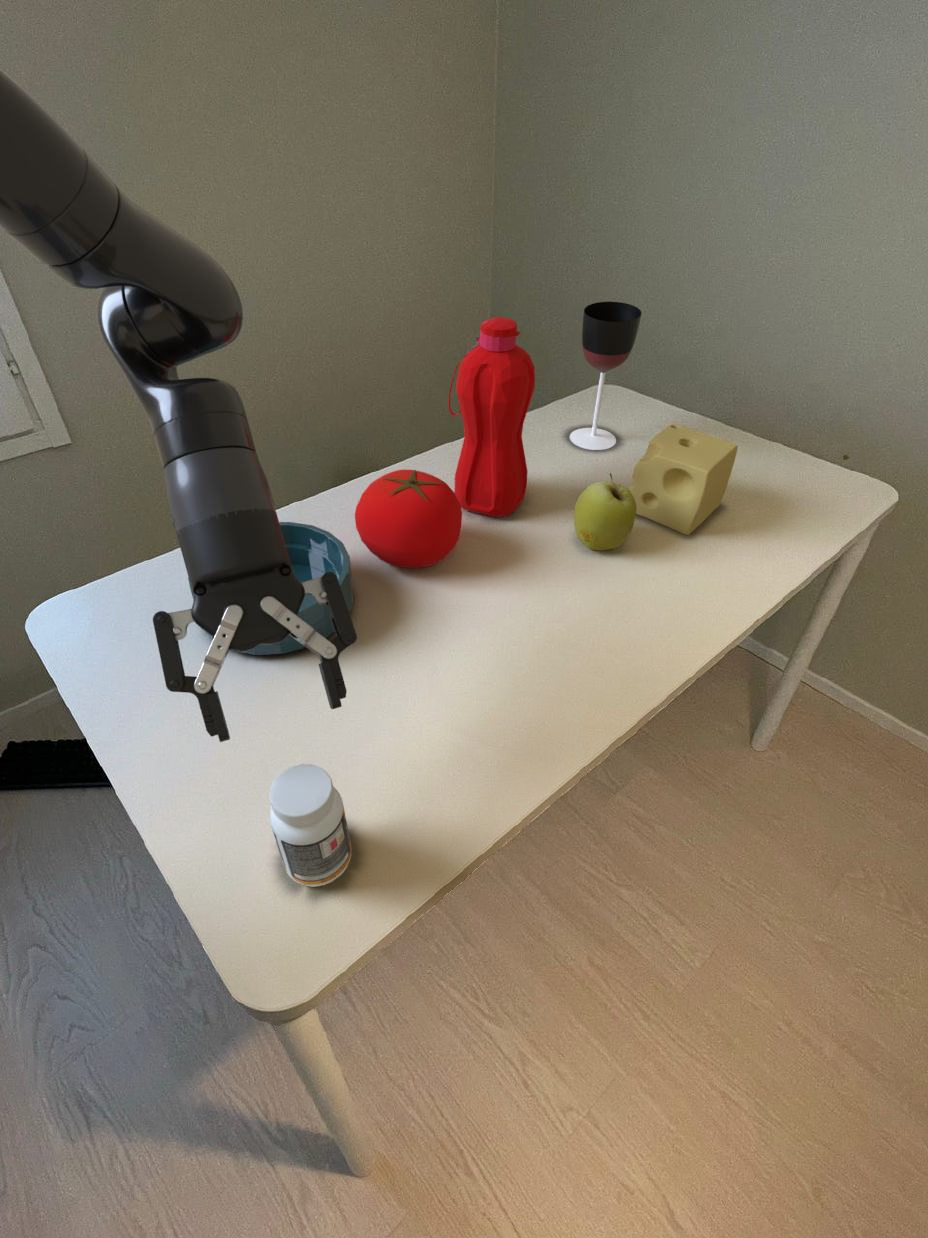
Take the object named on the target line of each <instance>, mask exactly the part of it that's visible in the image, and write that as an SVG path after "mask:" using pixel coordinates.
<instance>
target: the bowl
mask: <svg viewBox="0 0 928 1238" xmlns="http://www.w3.org/2000/svg"><path fill="white" fill-rule="evenodd" d="M279 524H280V528H281V531H282V535H283V539H284V542H285V546H286V549H287V553H288V557H289V560H290V564H291V568H292V571H293V573H294V575H295V577H296V578H297V579H298V580H299V581H300V582H301V583H302V582H305V581H309V580H312V579H315V578H319V577H321V576H323V575H324V574H325V573H326V572H333V573H334V574H335V575H336V576H337V578H338V581H339V584H340V587H341V590H342V593H343V596H344V599H345V602H346V605H347V608H348V611H349V613H351V610H352V609H353V606H354V583H353V576H352V566H351V558H350V557H351V556H350V553H349V552H348V550H347V548H346V547H345V544H344V543H343V542H342V541H341V540H340V539H338V538H337V537H336V536H335V535H334V534H333V533H331V532H330V531H328V530H325V529H323V528H320V527H318V526H314V525H312V524H307V523H299V522H294V521H293V522H292V521H281V522H280V521H279ZM187 580H188V585H189V589H190V593H191V597H192V599H193V600H194V596H193V592H192V588H191V584H190V581H189V577H187ZM297 616H298V617H299V618H300V619H302V620H303V621H304V622H306V623H307V624H308V625H310V626H311V627H312V628H313V629H315V630H316V632H318V633H319V634H320V635H322V636H323V637H324V638H325V639H327V638H328V637H329V636H330V635H332V634H333V633H335V630H334V627H333V624H332V621H331V618H330V616H329V613H328V610H327V607H326V604H319V603H317V602H316V601H315V599H314V598H313V597H312V596H311V595H305V597H304V600H303V602H302V605H301V607H300V610H299V612H298V615H297ZM204 632H205V633H206V634H207V635H208V637H210V638H211V640H213V639H214V637H212V636H211V635H210V634H208V633H207V632H206V631H205V630H204ZM305 648H307V647H306V646H304V645H303V644H301V643H300V642H298V641H297V640H295V639H294V638H293V637H292V636H290V635H288V636H287V637H286V638H285V639H284V640H283V641H281V642H280V643H276V644H272V645H259V646H257V647H255V648H254V649H252V650H249V651H245V652H241V653H243V654H247V655H254V656H263V655H282V654H287V653H291V652H296V651H298V650H302V649H305Z"/></svg>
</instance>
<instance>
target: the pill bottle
mask: <svg viewBox="0 0 928 1238" xmlns="http://www.w3.org/2000/svg"><path fill="white" fill-rule="evenodd" d="M269 802H270V805H271V806H270V810H269V811H270V812H269V824H270V828H271V831H272V835H273V837H274V840H275V842H276V846H277V849H278V853H279V855H280V860H281V862H282V865H283V868H284V869H285V872H286V873H287V875H288V876H289V877H290V879H291V880H293V881H294V882H295V883H297V884H299V885H302V886H305V887H314V888H315V887H321V886H326V885H328V884H330V883H333V882H334V881H335V880H337V879H338V878H339V877H340V876H342V875H343V873H345V871H346V869H347V868H348V866H349V864H350V861H351V859H352V852H353V851H352V841H351V835H350V830H349V826H348V822H347V818H346V812H345V807H344V802H343V798H342V796H341V794H340V791H338V789H337V788H336V787H335V786H334V783H333V780H332V778H331V776H330V775H329V773H328V772H327V771H326V770H325V769H324V768H322V767H320V766H318V765H315V764H309V763H303V764H302V763H301V764H296V765H293V766H291V767H288V768H287V769H285V770H282V771H281V772H280V773H279V774H277V776H276V778H275V779H273V782H272V783H271V786H270V789H269Z"/></svg>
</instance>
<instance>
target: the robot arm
mask: <svg viewBox="0 0 928 1238" xmlns="http://www.w3.org/2000/svg"><path fill="white" fill-rule="evenodd" d="M0 229H1V230H2V231H3V232H4V233H6V234H7V235H8V236H9V237H10V238H12V239H13V240H14V241H15V242H16V243H18V244H19V245H20V246H21V247H22V248H24V249H25V250H26V251H27V252H28V253H29V254H30V255H31V256H33V258H35V259H36V260H37V261H39V262H40V263H41V264H42V265H43V266H44V267H45V268H46V269H48V270H50V272H51V273H52V274H54V275H55V276H56V277H57V278H59V279H60V280H62V281H63V282H65V283H66V284H68V285H71V286H72V287H75V288H78V289H79V288H80V289H84V290H98V289H101V290H100V292H99V294H98V298H97V301H96V307H95V317H96V318H95V319H96V326H97V329H98V332H99V335H100V337H101V339H102V341H103V343H104V345H105V347H106V348H107V349H108V351H109V353H110V354H111V357H112V358H113V359H114V361H115V363H116V364H117V366H118V368H119V369H120V370H121V372H122V374H123V375H124V377H125V379H126V381H127V382H128V384H129V386H130V388H131V390H132V392H133V393H134V395H135V398H136V399H137V401H138V403H139V404H140V406H141V408H142V410H143V412H144V413H145V416H146V418H147V420H148V422H149V424H150V427H151V431H152V435H153V438H154V442H155V446H156V449H157V452H158V456H159V460H160V464H161V467H162V471H163V476H164V482H165V492H166V498H167V503H168V508H169V511H170V513H171V517H172V524H173V527H174V529H175V533H176V536H177V540H178V544H179V548H180V551H181V555H182V560H183V562H184V565H185V569H186V573H187V576H188V577H189V580H188V582H189V581H190V584H191V588H192V592H193V596H194V600H193V602H192V606H191V608H189V609H183V610H177V611H172V612H167V611H164V610H160V611H156V612H155V613H154V614H153V616H152V624H153V628H154V632H155V638H156V639H155V640H156V643H157V647H158V653H159V658H160V663H161V667H162V668H161V669H162V672H163V678H164V682H165V686H166V687H165V688H166V689H167V690H168V691H169V692H173V693H185V694H186V693H187V694H192V695H194V696H195V698H196V699H197V701H198V705H199V708H200V712H201V715H202V719H203V724H204V728H205V730H206V732H207V734H209V736H210V737H215V736H217V737H218V740H219V743H223V742H226V741H229V740H231V736H230V731H229V728H228V724H227V721H226V717H225V714H224V710H223V705H222V703H221V702H222V701H221V699H220V696H219V692H218V690H215V687H214V685H215V683H216V680H217V678H218V676H219V674H220V672H221V669H222V667H223V665H224V663H225V661H226V659H227V656H228V654H229V652H230V651H232V652H236V653H242V652H245V651H249V650H252V649H254V648H255V647H257V646H259V645H272V644H276V643H280V642H281V641H283V640H284V639H285V638H286V637H287V636H288V635H290V636H292V637H293V638H294V639H295V640H297V641H298V642H300V643H301V644H303V645H304V646H306V648H307V649H308V650H310V651H311V652H312V653H313V654H315V655H316V656H317V657H318V658H319V661H320V663H318V668H319V672H320V675H321V679H322V684H323V686H324V690H325V694H326V697H327V701H328V705H329V708H330V709H331V710H335V709H339V708H342V701H341V700H342V699H345V698H346V697H347V691H348V690H347V687H346V684H345V680H344V675H343V672H342V669H341V665H340V662H339V658H340V655H341V653H343V651H345V650H346V649H348V648H349V647H351V646H352V645H354V644H355V643H356V642H357V640H358V635H357V632H356V628H355V625H354V623H353V620H352V617H351V614H350V612H349V611H348V608H347V605H346V602H345V599H344V596H343V593H342V590H341V587H340V584H339V581H338V578H337V576H336V575H335V574H334V573H333V572H326V573H325V574H324V575H323V576H321V577H319V578H315V579H312V580H309V581H305V582H302V583H301V582H300V581H299V580H298V579H297V578H296V577H295V575H294V573H293V571H292V568H291V564H290V560H289V557H288V553H287V549H286V546H285V542H284V539H283V535H282V531H281V528H280V524H279V522H280V521H279V516H278V513H277V509H276V506H275V502H274V499H273V494H272V492H271V488H270V484H269V481H268V478H267V475H266V474H265V471H264V469H263V467H262V464H261V462H260V460H259V459H260V458H259V456H258V454H257V449H256V445H255V442H254V439H253V435H252V431H251V430H252V429H251V427H250V424H249V420H248V417H247V413H246V409H245V405H244V403H243V400H242V398H241V395H240V393H239V392H238V390H237V389H236V388H235V386H234V385H232V384H231V383H229V382H228V381H226V380H223V379H219V378H216V377H215V378H213V377H191V378H189V377H188V378H181V379H180V377H179V374H178V368H177V367H178V366H181V365H183V364H185V363H188V362H190V361H193V360H196V359H197V358H200V357H203V356H205V355H207V354H211V353H213V352H216V351H218V350H221V349H223V348H225V347H227V346H228V345H231V343H233V342H234V341H235V340H236V339H237V338H238V337H239V335H240V332H241V330H242V327H243V322H244V311H243V304H242V300H241V297H240V294H239V292H238V290H237V288H236V286H235V284H234V282H233V280H232V278H230V276H229V275H228V273H227V272H226V271H225V270H224V269H223V267H222V266H221V265H220V264H219V262H217V261H216V260H215V259H214V258H213V257H212V256H211V255H210V254H209V253H207V252H206V251H205V250H204V249H202V248H201V247H200V246H199V245H197V244H196V243H194V242H193V241H191V240H190V239H188V238H187V237H185V236H184V235H183V234H181V233H179V232H178V231H176V230H175V229H173V228H171V227H170V226H169V225H168V224H166V223H164V222H163V221H162V220H160V219H158V218H157V217H156V216H155V215H153V214H151V213H150V212H149V211H147V210H146V209H144V208H143V207H141V206H140V205H138V204H137V203H135V202H134V201H132V200H131V199H130V198H129V197H127V196H126V195H125V194H124V192H122V190H121V189H120V188H119V187H118V186H117V185H116V183H114V182H113V180H112V179H111V178H110V177H109V176H108V175H107V174H106V172H104V170H103V169H102V168H101V167H100V166H99V165H98V163H96V161H95V160H94V159H93V158H92V157H91V156H90V154H88V153H87V151H86V150H85V149H84V148H83V147H82V146H81V145H80V143H78V142H77V140H76V139H75V138H74V137H73V136H72V135H71V133H69V132H68V131H67V130H66V129H65V128H64V127H63V126H62V125H61V124H60V123H59V121H58V120H57V119H55V117H54V116H53V115H52V114H51V113H50V112H48V111H47V109H46V108H45V107H44V106H42V105H41V104H40V102H38V101H37V100H36V99H35V98H34V97H33V96H32V95H31V94H30V93H28V92H27V90H25V89H24V88H23V87H22V86H21V85H20V84H19V83H17V81H15V80H14V79H13V78H12V77H11V76H10V75H8V74H7V73H6V72H5V71H4V70H2V69H1V68H0ZM188 577H187V578H188ZM305 595H311V596H312V597H313V598H314V599H315V601H316V602H317V603H319V604H326V607H327V610H328V613H329V616H330V618H331V621H332V624H333V627H334V630H335V631H334V633H335V636H334V637H333V638H331V639H330V640H328V639H327V638H324V637H323V636H322V635H320V634H319V633H318V632H316V630H315V629H313V628H312V627H311V626H310V625H308V624H307V623H306V622H304V621H303V620H302V619H300V618H299V617H298V616H297V615H298V612H299V610H300V607H301V605H302V602H303V600H304V597H305ZM192 623H195V625H197V626H198V627H200V629H202V630H203V631H204V632H205V631H206V632H207V633H208V634H210V635H211V636H212V637H214V639H212V641H211V643H210V645H209V648H208V650H207V653H206V655H205V658H204V660H203V663H202V665H201V667H200V669H199V672H198V674H197V676H191V675H186V673H185V668H184V663H183V659H182V654H181V649H180V644H179V641H181V640H183V639H185V638H186V637H187V634H188V627H189V625H190V624H192ZM206 632H205V633H206ZM207 633H206V634H207ZM208 634H207V635H208Z"/></svg>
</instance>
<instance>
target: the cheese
mask: <svg viewBox="0 0 928 1238" xmlns="http://www.w3.org/2000/svg"><path fill="white" fill-rule="evenodd" d="M738 447H739V445H738V444H737V443H735V442H732V441H730V440H726V439H723V438H720V437H717V436H713V435H710V434H707V433H704V432H700V431H697V430H695V429H692V428H690V427H687V426H684V425H681V424H678V423H676V422H672V423H670V424H669V425H668V426H666V427H665V428H663V429H662V430H661V431H659V432H658V433H657V434H656V435H654V436H653V437H652V438H651V439H650V440H649V441H648V445H647V449H646V451H645V454H644V455H643V456H642V457H641V458H640V459H639V460H637V462H636V463H635V464H634V468H633V471H632V477H631V478H632V479H633V483H632V484H631V486H630V487H629V488H627V489H628V490H629V491H630V492H631V493H632V495H633V497H634V500H635V503H636V515H638V516H641V517H644V518H646V519H648V520H651V521H654V522H656V523H658V524H661V525H663V526H665V527H667V528H670V529H672V530H673V531H676V532H678V533H681V534H683V535H686V536H689V535H690V534H692V532H693V531H695V530H696V529H697V528H698V527H699V526H700V525H701V524H703V522H704V521H705V520H706V519H707V518H708V517H709V516H710V515H711V514H712V513H713V512H714V511H715V510H716V509H717V508H719V507H720V505H721V503H722V500H723V498H724V495H725V493H726V490H727V487H728V484H729V481H730V477H731V474H732V471H733V468H734V465H735V460H736V457H737V453H738Z"/></svg>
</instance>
